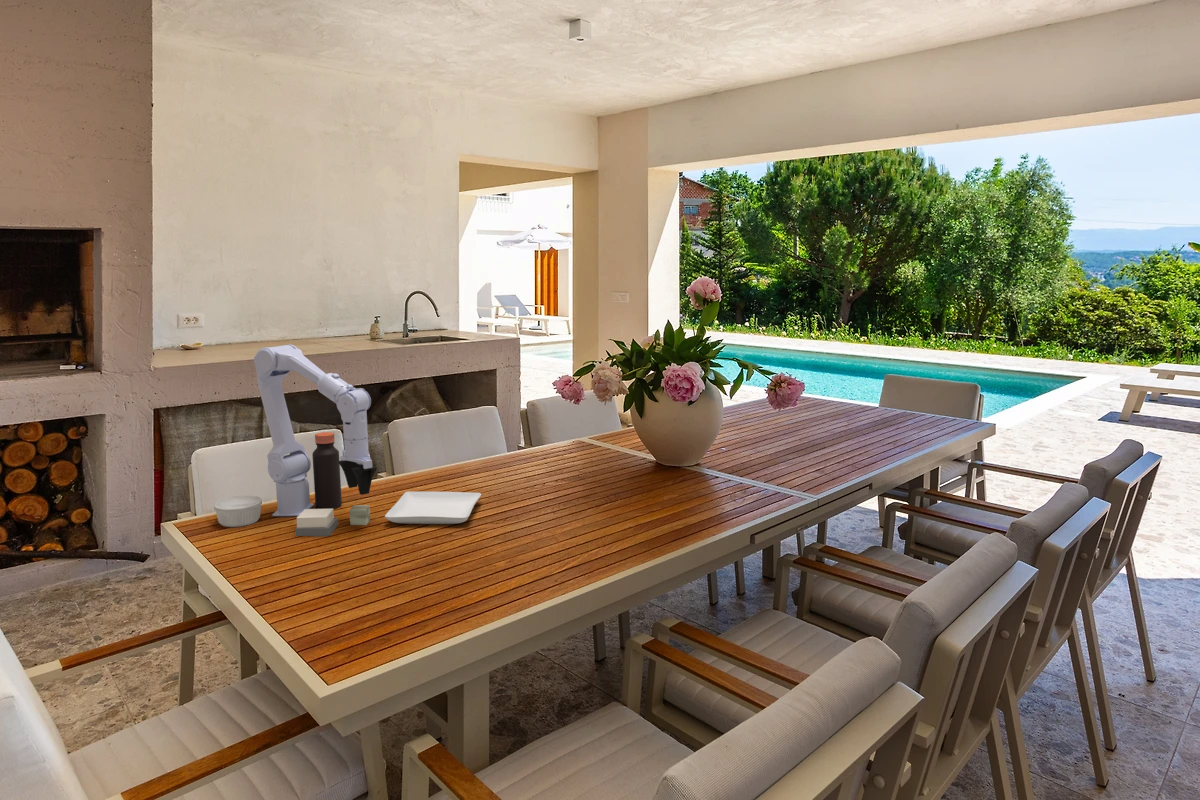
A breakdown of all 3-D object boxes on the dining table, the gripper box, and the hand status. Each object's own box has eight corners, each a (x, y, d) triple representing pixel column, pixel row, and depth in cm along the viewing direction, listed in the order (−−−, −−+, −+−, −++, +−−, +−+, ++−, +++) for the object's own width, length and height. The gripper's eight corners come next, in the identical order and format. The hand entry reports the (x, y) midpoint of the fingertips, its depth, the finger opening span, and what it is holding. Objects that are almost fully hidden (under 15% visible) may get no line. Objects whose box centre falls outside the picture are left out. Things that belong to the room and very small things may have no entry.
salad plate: (468, 529, 196) (467, 516, 196) (383, 528, 197) (383, 515, 196) (482, 503, 217) (482, 491, 216) (406, 503, 217) (405, 491, 217)
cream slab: (305, 518, 197) (304, 509, 196) (334, 518, 197) (333, 508, 197) (297, 527, 190) (296, 517, 189) (326, 527, 190) (326, 517, 190)
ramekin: (229, 532, 193) (227, 511, 192) (206, 523, 200) (205, 503, 199) (272, 520, 202) (270, 500, 201) (248, 512, 208) (247, 492, 207)
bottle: (314, 504, 215) (309, 432, 211) (340, 501, 218) (336, 430, 214) (316, 511, 209) (312, 437, 205) (343, 507, 212) (339, 435, 208)
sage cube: (354, 520, 202) (353, 505, 201) (370, 520, 202) (369, 505, 201) (350, 525, 198) (349, 510, 197) (366, 525, 198) (365, 510, 197)
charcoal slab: (306, 527, 198) (305, 518, 197) (338, 527, 198) (337, 517, 197) (295, 538, 190) (294, 528, 189) (329, 538, 190) (328, 528, 190)
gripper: (329, 435, 199) (332, 486, 202) (351, 445, 188) (354, 500, 190) (356, 431, 204) (359, 482, 206) (379, 441, 192) (381, 494, 195)
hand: (358, 490), depth 199 cm, fingers open, 7 cm apart
